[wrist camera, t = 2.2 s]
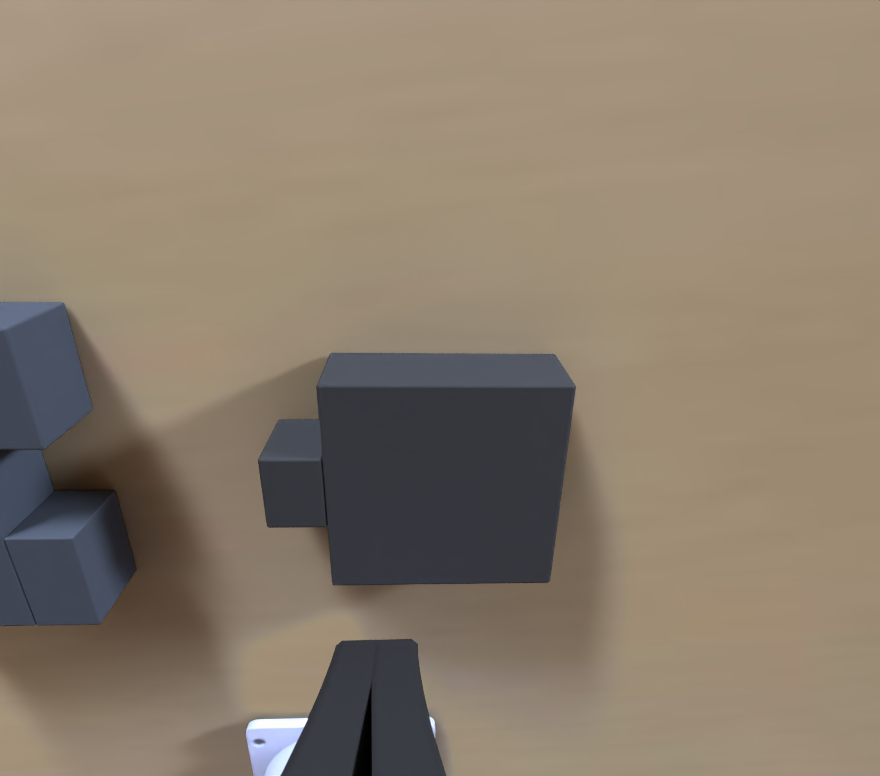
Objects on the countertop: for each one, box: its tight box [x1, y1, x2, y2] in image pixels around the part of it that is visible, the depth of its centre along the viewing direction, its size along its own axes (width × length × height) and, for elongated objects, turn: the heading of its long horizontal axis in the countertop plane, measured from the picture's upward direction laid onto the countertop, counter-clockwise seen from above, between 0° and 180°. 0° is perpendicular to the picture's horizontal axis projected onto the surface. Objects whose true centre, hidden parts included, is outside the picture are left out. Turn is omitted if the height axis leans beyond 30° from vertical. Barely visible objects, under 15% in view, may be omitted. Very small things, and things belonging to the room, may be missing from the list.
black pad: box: [258, 353, 576, 585], centre depth 17 cm, size 7×9×2 cm
